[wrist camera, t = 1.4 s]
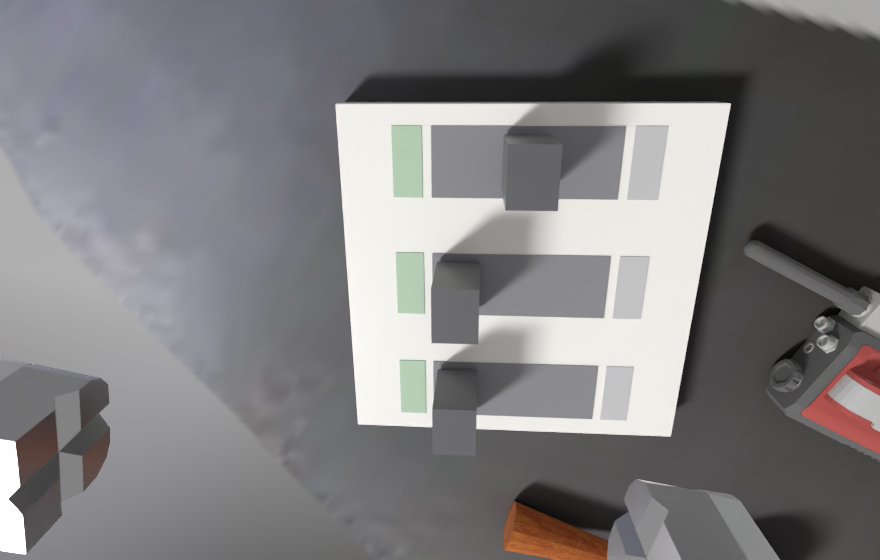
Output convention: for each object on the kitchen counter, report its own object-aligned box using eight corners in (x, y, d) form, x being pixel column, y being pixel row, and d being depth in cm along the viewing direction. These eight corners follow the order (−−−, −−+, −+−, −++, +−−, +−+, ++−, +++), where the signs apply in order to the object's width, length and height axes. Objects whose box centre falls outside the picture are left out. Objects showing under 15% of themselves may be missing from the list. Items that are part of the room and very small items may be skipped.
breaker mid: (479, 262, 30) (479, 289, 26) (478, 310, 31) (478, 344, 27) (437, 261, 30) (430, 289, 26) (437, 309, 31) (431, 343, 27)
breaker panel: (714, 101, 28) (731, 103, 27) (660, 417, 36) (670, 436, 34) (344, 101, 30) (335, 103, 28) (364, 406, 37) (357, 424, 35)
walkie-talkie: (1017, 367, 33) (747, 222, 31) (1093, 409, 29) (788, 245, 27) (910, 467, 36) (658, 341, 34) (965, 518, 32) (683, 377, 30)
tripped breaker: (550, 134, 27) (562, 144, 24) (547, 192, 28) (557, 211, 25) (503, 134, 28) (507, 144, 24) (501, 192, 29) (505, 210, 25)
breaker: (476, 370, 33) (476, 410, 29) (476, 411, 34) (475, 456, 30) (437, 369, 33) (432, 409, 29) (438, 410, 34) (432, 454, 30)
